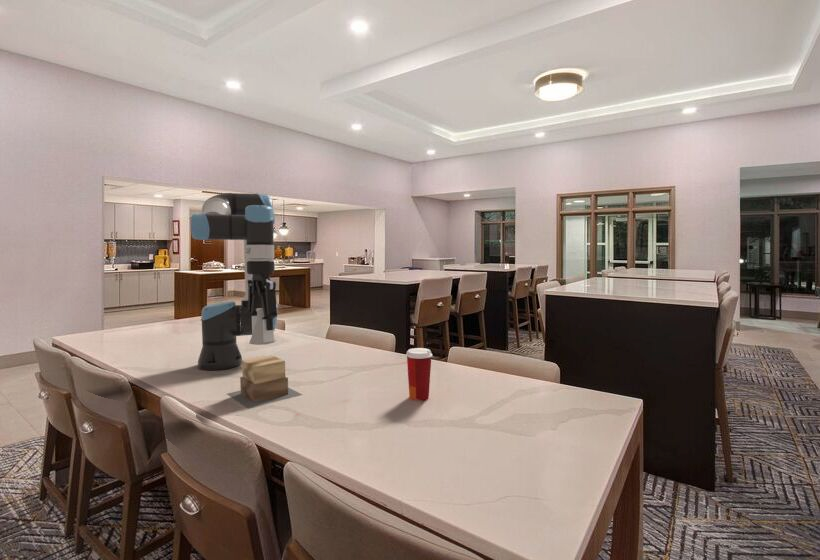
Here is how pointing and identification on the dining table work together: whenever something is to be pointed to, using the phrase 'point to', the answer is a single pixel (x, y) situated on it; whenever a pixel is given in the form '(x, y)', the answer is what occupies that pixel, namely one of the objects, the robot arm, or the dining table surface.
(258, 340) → the flask
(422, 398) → the paper cup
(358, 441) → the dining table surface
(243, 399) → the grey mat
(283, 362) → the oak block
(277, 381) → the walnut block
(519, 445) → the dining table surface
